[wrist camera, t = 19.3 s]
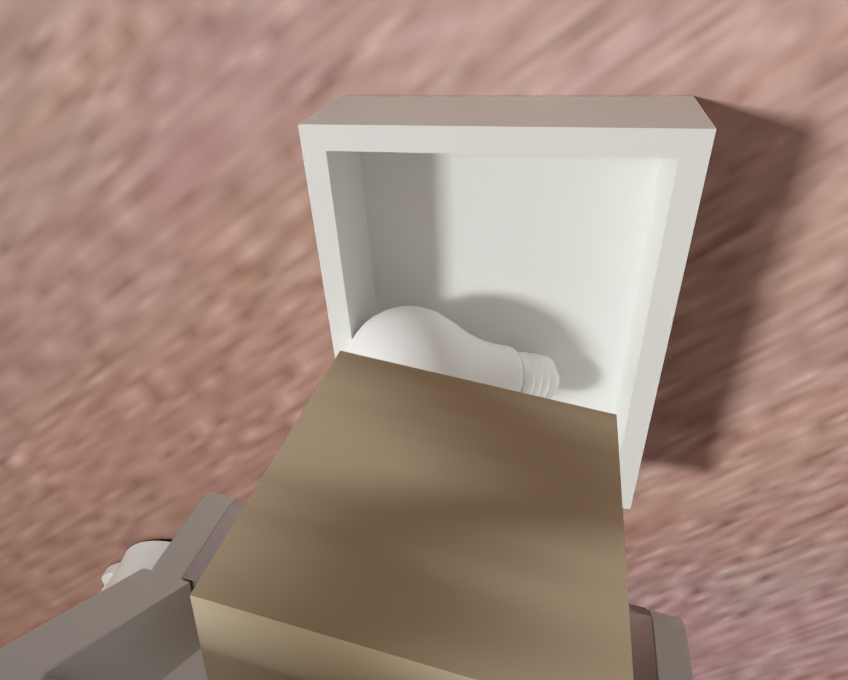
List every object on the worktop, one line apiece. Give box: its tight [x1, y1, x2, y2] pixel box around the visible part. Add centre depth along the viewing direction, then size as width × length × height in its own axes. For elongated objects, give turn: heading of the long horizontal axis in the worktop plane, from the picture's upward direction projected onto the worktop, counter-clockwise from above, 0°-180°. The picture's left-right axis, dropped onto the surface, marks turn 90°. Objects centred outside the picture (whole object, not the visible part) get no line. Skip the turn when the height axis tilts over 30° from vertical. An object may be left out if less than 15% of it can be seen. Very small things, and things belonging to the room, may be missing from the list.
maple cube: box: [190, 351, 634, 680], centre depth 10 cm, size 5×5×5 cm
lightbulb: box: [347, 306, 559, 399], centre depth 29 cm, size 6×6×11 cm
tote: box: [298, 96, 716, 509], centre depth 28 cm, size 19×15×5 cm
